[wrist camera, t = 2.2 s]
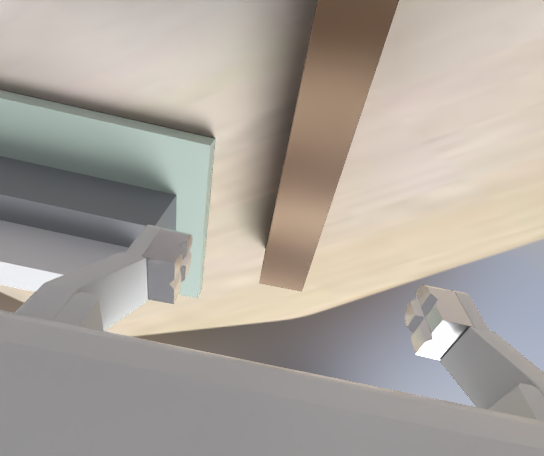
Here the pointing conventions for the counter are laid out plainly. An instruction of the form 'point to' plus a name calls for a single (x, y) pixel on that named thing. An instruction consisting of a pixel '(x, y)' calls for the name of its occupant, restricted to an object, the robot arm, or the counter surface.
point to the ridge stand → (93, 189)
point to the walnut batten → (323, 129)
